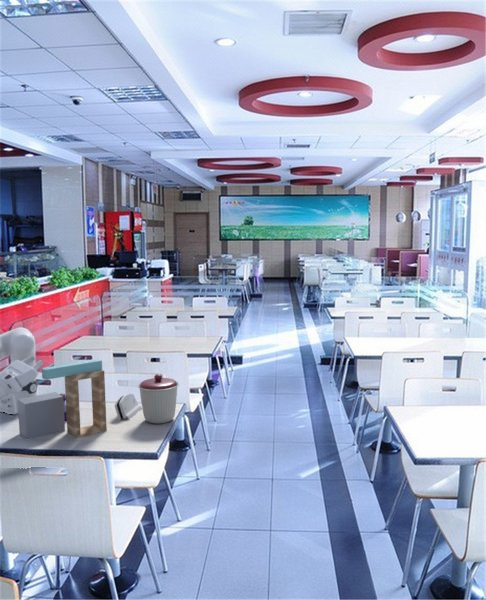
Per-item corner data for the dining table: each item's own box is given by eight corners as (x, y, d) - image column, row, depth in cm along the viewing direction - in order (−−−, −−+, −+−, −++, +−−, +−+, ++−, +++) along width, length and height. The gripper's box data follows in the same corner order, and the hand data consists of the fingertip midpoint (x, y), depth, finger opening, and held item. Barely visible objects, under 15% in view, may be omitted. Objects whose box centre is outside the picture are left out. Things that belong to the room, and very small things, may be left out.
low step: (26, 439, 225) (24, 404, 223) (19, 434, 232) (17, 399, 230) (65, 430, 235) (63, 396, 233) (56, 425, 242) (55, 392, 240)
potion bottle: (71, 416, 254) (70, 390, 253) (73, 421, 246) (72, 395, 245) (52, 418, 251) (50, 392, 250) (53, 424, 243) (51, 398, 242)
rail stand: (75, 438, 226) (72, 376, 223) (67, 433, 232) (64, 372, 229) (106, 430, 235) (104, 370, 232) (98, 425, 241) (95, 367, 238)
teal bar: (45, 379, 218) (45, 369, 218) (42, 377, 221) (41, 368, 221) (102, 369, 233) (101, 360, 233) (98, 368, 236) (97, 359, 236)
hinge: (129, 420, 248) (121, 399, 247) (119, 423, 249) (112, 402, 248) (142, 408, 264) (135, 389, 264) (133, 411, 265) (126, 392, 265)
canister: (177, 426, 239) (176, 379, 236) (135, 427, 238) (134, 379, 236) (181, 413, 257) (180, 369, 254) (142, 413, 256) (141, 369, 254)
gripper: (3, 382, 220) (33, 361, 227) (20, 393, 204) (51, 370, 211) (-6, 370, 217) (24, 349, 224) (10, 380, 202) (42, 357, 209)
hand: (37, 359), depth 218 cm, fingers open, 8 cm apart
